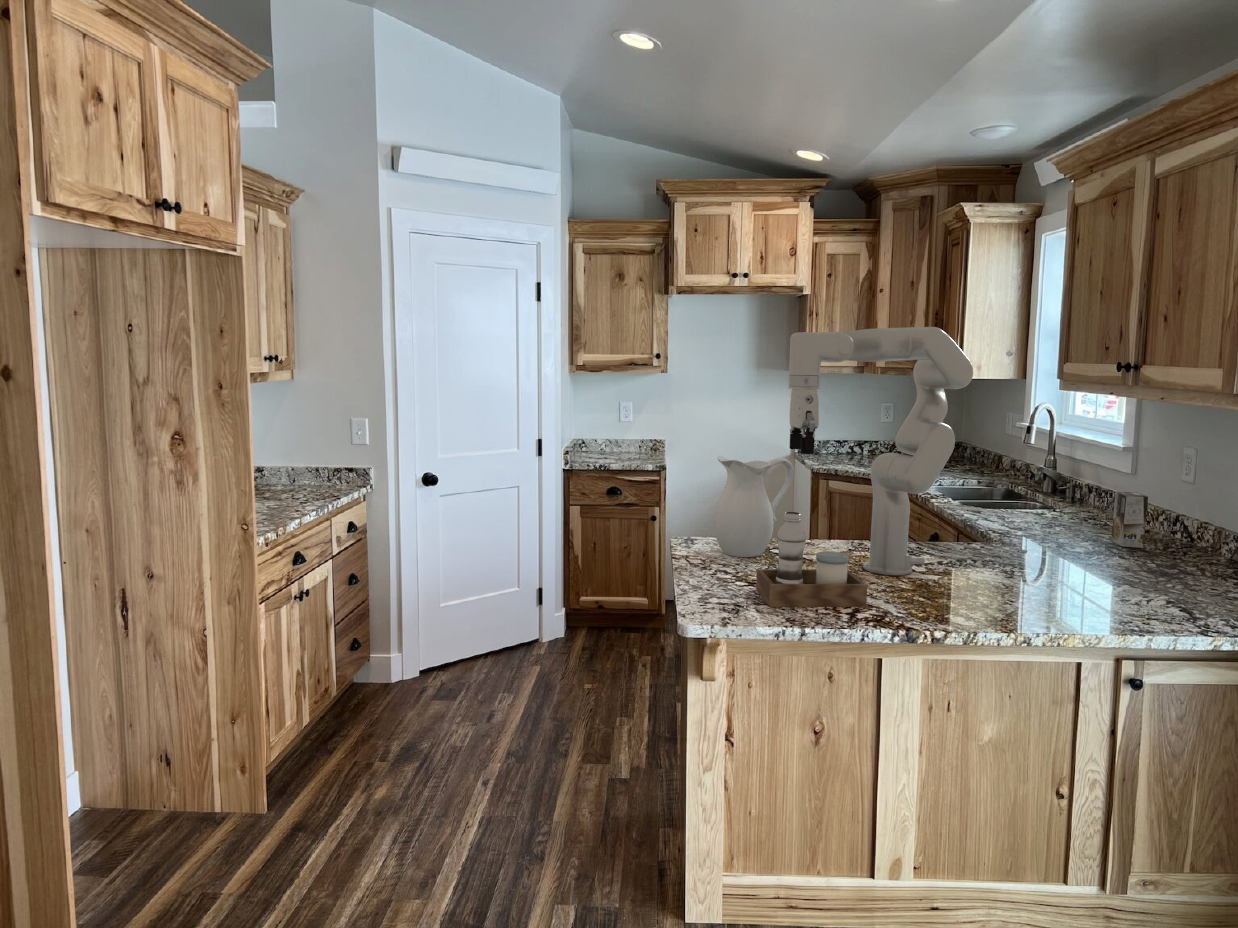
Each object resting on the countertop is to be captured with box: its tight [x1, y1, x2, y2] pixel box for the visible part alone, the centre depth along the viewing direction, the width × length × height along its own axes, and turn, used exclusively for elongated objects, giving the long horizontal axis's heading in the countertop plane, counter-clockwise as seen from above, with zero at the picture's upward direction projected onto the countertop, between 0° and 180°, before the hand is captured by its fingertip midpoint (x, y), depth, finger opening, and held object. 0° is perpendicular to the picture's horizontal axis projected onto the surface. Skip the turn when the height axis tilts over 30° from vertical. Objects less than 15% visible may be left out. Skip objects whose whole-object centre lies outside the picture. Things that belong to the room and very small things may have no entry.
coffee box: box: [1110, 491, 1149, 549], centre depth 263 cm, size 9×6×16 cm
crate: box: [755, 568, 868, 608], centre depth 196 cm, size 22×14×6 cm, turn 94°
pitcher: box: [713, 456, 795, 558], centre depth 243 cm, size 24×17×28 cm
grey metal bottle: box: [775, 511, 807, 584], centre depth 195 cm, size 6×7×20 cm
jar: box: [815, 550, 850, 584], centre depth 196 cm, size 7×7×10 cm
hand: (801, 451), depth 211 cm, fingers open, 9 cm apart
